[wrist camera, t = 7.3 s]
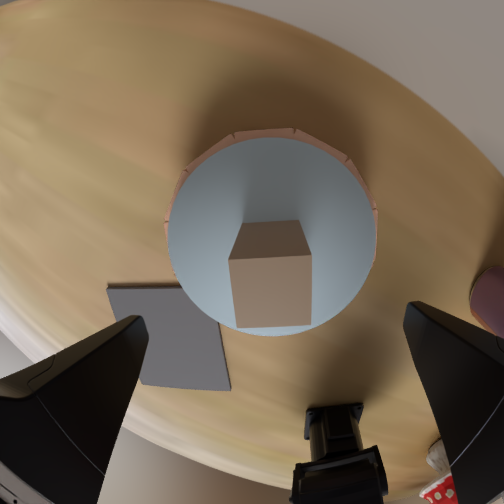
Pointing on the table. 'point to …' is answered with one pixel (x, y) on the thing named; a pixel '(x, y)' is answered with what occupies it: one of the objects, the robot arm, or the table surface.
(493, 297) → the purple rectangular block
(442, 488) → the decorative mushroom
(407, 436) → the table surface
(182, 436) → the table surface
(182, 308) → the mat
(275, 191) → the lid
